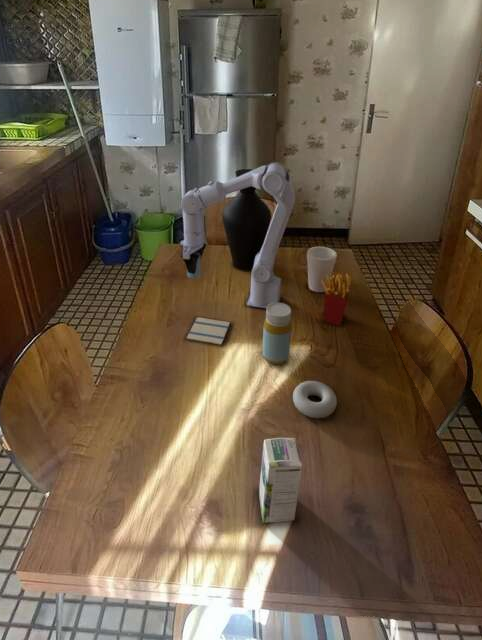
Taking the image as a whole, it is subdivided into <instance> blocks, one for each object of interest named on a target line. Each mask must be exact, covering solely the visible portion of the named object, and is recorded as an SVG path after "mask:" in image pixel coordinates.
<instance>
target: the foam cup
mask: <svg viewBox="0 0 482 640" xmlns="http://www.w3.org/2000/svg"><path fill="white" fill-rule="evenodd" d="M337 256H338V253H337V252H336V251H335V250H334V249H332V248H331V247H326V246H312V247H310V248H307V251H306V262H307V264H306V265H307V287H308V289H309V290H311V291H312V292H315V293H325V292H326V290H325V287H324V285H323V283H322V282H321V281H322V280H323V279H324V280H325V282H326V284H327V286H328V284H329V283H328V279H327V277H326V276H327V275H328V276H329V277H330V278H331V277H332V275H333V270H334V267H335V264H336V263H337Z"/></svg>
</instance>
